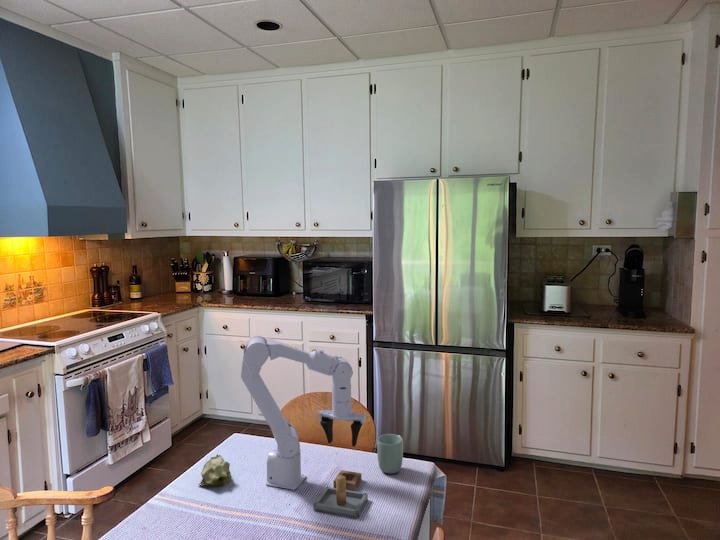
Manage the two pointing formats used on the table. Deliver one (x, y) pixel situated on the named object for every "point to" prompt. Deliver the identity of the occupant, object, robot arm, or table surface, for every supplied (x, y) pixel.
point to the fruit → (216, 472)
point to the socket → (351, 476)
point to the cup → (390, 453)
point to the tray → (350, 509)
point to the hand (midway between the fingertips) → (342, 443)
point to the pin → (341, 490)
